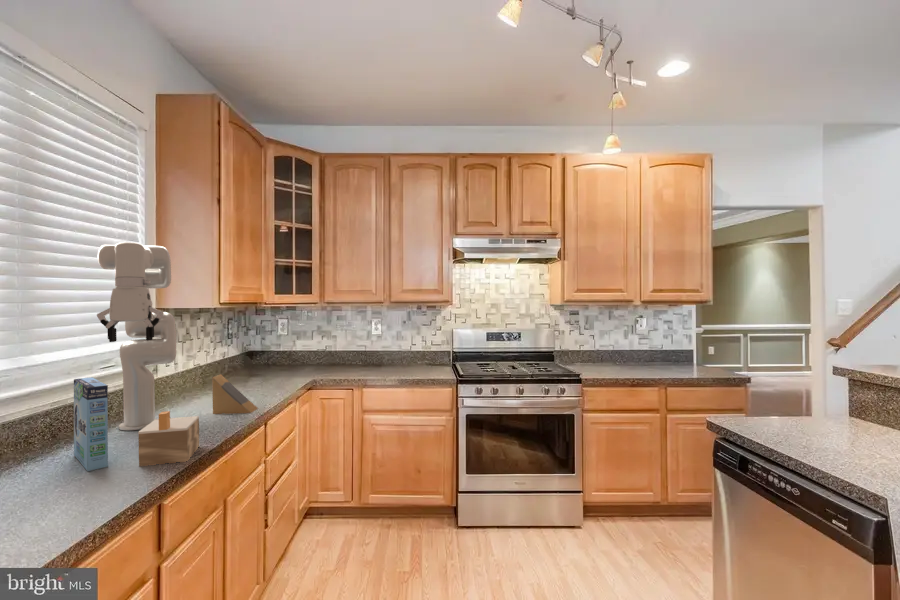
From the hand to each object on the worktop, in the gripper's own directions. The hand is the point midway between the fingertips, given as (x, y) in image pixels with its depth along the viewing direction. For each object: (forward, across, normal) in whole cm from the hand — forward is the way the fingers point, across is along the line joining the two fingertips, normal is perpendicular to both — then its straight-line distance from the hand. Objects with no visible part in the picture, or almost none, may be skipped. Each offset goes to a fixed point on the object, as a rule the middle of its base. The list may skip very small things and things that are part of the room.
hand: (131, 340), depth 140 cm
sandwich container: (+33, -20, -49) cm, 62 cm away
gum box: (+34, +10, +3) cm, 36 cm away
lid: (+25, -12, +5) cm, 28 cm away
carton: (+34, -12, +4) cm, 36 cm away
